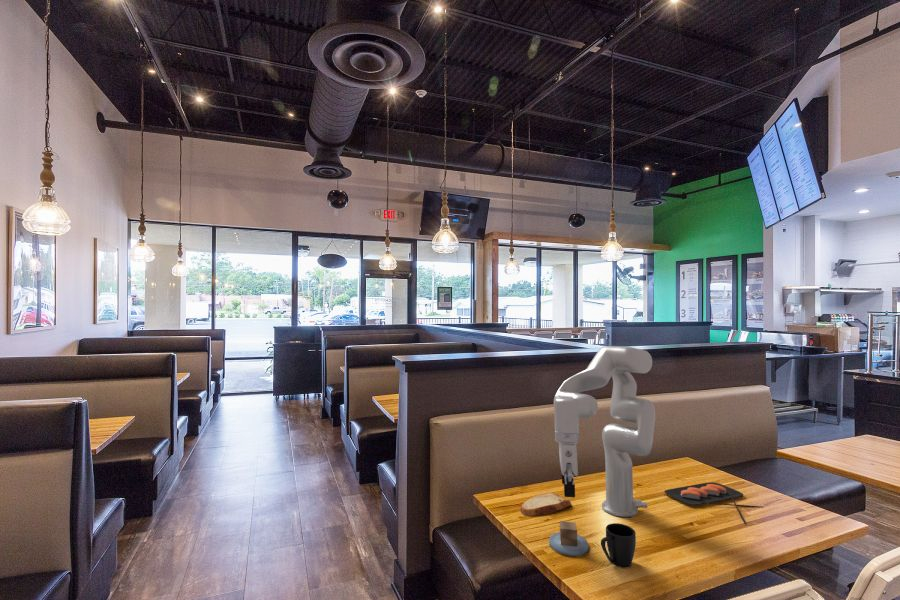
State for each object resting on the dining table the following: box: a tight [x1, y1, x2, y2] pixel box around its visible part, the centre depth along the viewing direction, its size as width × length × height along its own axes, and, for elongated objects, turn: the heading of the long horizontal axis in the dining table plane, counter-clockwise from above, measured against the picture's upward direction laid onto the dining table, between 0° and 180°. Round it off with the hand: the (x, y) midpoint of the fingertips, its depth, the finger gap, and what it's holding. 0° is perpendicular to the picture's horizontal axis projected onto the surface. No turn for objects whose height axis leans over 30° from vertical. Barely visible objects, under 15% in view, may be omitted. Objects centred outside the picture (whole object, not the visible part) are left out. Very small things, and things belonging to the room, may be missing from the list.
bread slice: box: [520, 492, 572, 517], centre depth 163 cm, size 18×18×4 cm
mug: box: [600, 522, 637, 569], centre depth 126 cm, size 8×12×10 cm
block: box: [559, 520, 578, 546], centre depth 136 cm, size 5×5×5 cm
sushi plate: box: [664, 481, 763, 526], centre depth 165 cm, size 29×30×4 cm
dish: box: [548, 531, 589, 557], centre depth 136 cm, size 12×12×1 cm
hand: (568, 490), depth 137 cm, fingers open, 9 cm apart
